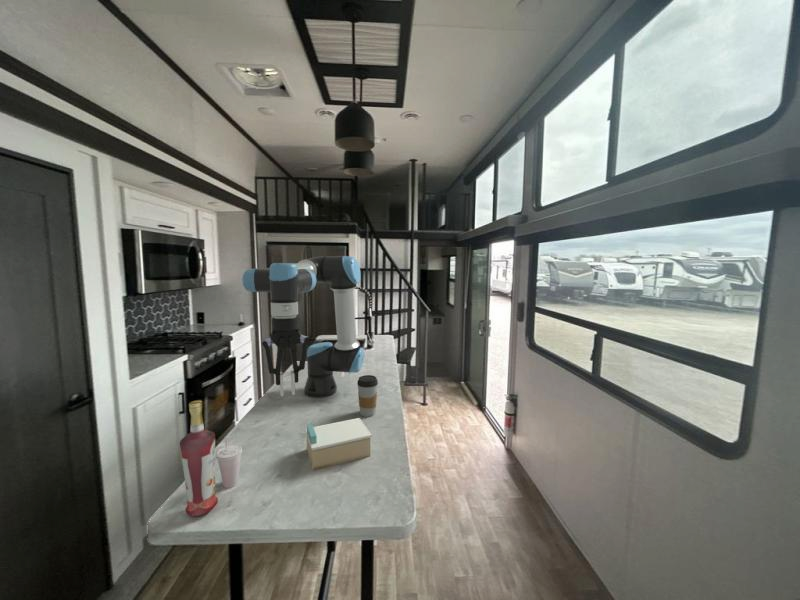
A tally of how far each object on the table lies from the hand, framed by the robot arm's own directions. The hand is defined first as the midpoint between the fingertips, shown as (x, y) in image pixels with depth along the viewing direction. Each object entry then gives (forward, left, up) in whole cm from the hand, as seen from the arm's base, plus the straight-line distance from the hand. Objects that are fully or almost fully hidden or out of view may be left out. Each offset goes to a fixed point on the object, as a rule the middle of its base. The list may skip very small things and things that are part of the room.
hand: (287, 393), depth 98 cm
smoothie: (+2, -16, -23) cm, 28 cm away
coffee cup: (-22, +33, -23) cm, 46 cm away
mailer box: (0, +15, -23) cm, 27 cm away
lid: (0, +15, -16) cm, 22 cm away
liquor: (+10, -22, -23) cm, 33 cm away
